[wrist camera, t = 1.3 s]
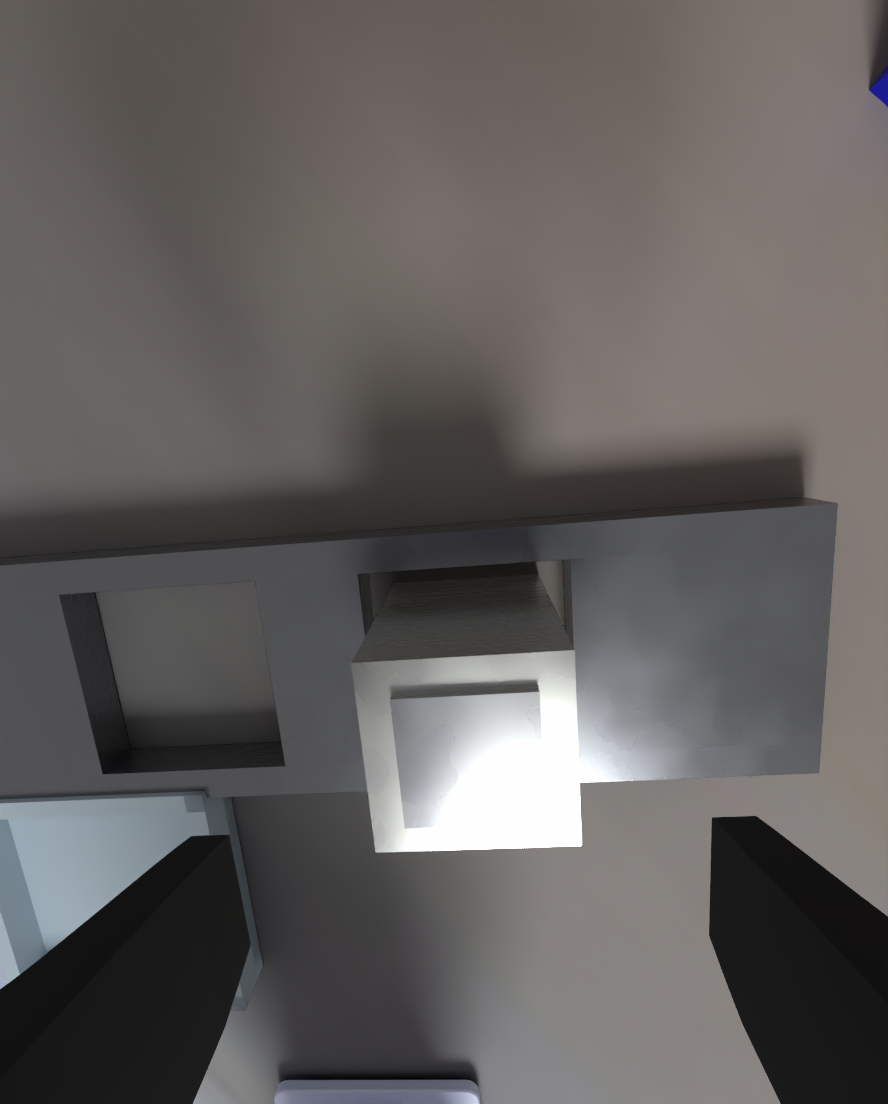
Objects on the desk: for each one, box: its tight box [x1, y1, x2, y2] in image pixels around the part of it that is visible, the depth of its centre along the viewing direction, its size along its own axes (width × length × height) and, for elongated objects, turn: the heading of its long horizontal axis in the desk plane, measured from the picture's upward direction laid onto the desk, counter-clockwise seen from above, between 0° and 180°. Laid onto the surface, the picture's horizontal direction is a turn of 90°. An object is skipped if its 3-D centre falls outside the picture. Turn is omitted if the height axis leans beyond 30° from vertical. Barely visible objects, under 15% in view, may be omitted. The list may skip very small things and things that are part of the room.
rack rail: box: [0, 498, 838, 800], centre depth 16 cm, size 8×26×1 cm, turn 95°
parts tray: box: [0, 791, 263, 1010], centre depth 19 cm, size 8×8×2 cm
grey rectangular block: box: [351, 574, 582, 853], centre depth 14 cm, size 4×4×6 cm
